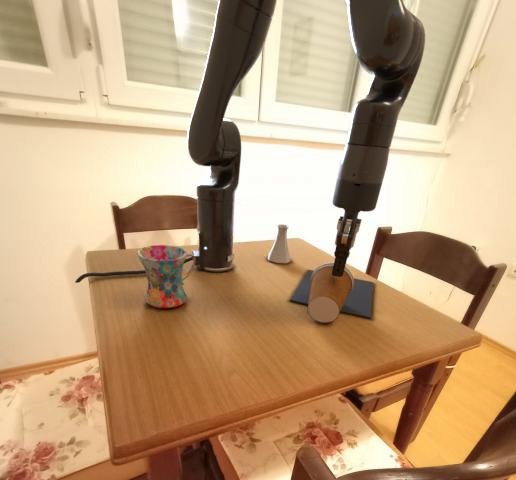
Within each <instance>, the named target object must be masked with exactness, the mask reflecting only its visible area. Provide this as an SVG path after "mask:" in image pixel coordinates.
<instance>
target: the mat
mask: <svg viewBox="0 0 516 480" xmlns="http://www.w3.org/2000/svg"><path fill="white" fill-rule="evenodd" d="M313 272H314V270H312V269H307V271H306V273H305V274H304V276H303V278H302V280H301V281H300V283H299V284H298V286H297V288H296V290H295V291H294V293H293V294H292V295H291V298H290V299H289V302H290V303H294V304H295V303H296V304H301V305H305V306H308V303H309V296H310V290H311V283H310V282H311V275H312V273H313ZM373 292H374V281H369V280H363V279H360V278H359V279H358V278H354V286H353V289H352V291H351V293H350V294H349V295H348V296H347V298H346V300H345V302H344V304H343V307H342V309H341V311H340V313H341V314H346V315H351V316H355V317H358V318H363V319H368V320H371V319H372V308H373Z"/></svg>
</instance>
